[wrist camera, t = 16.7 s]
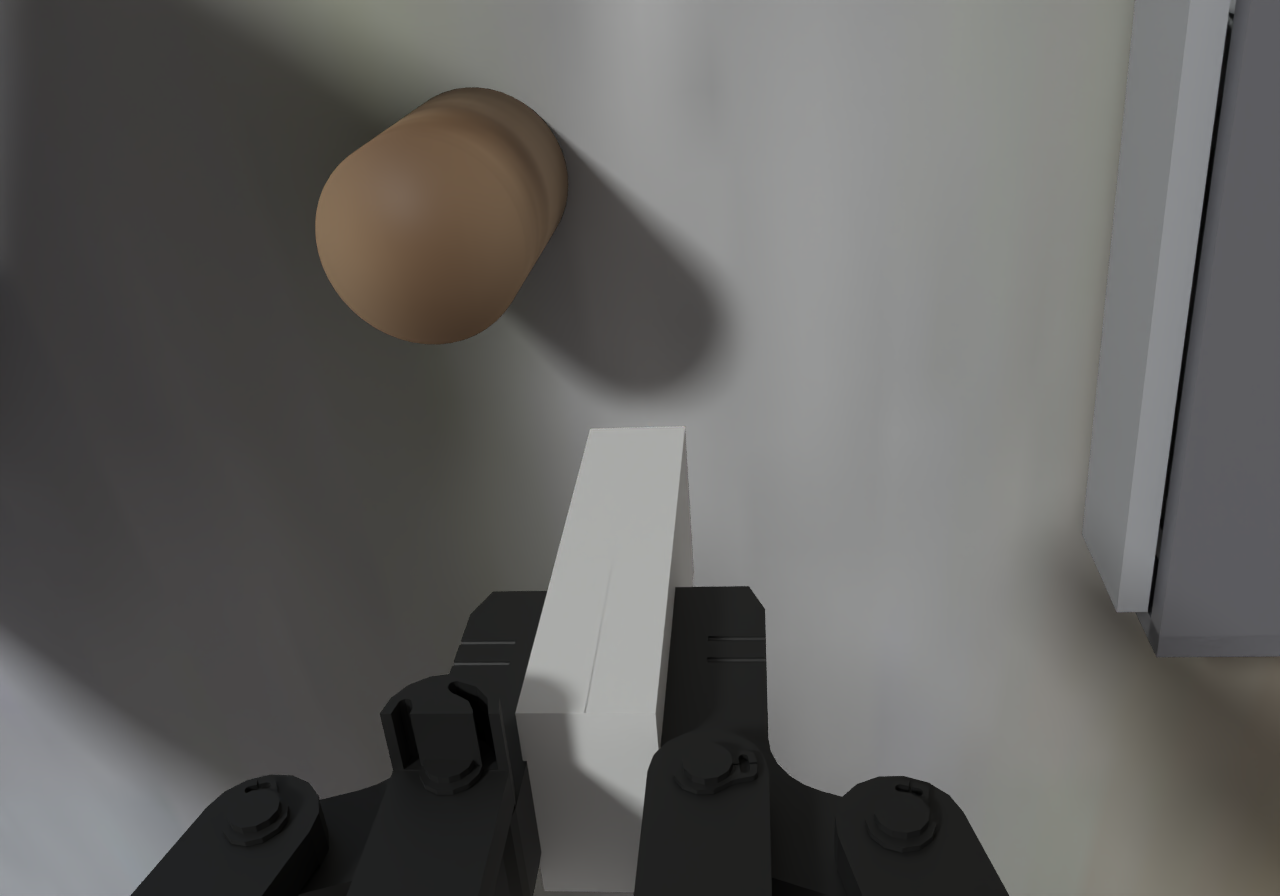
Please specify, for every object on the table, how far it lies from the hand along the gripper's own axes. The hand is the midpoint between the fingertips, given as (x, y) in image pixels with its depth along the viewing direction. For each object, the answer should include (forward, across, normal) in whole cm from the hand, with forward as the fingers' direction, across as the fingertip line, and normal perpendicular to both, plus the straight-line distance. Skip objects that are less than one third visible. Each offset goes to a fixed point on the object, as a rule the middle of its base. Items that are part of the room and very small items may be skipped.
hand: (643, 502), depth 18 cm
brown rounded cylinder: (+15, -6, +1) cm, 16 cm away
